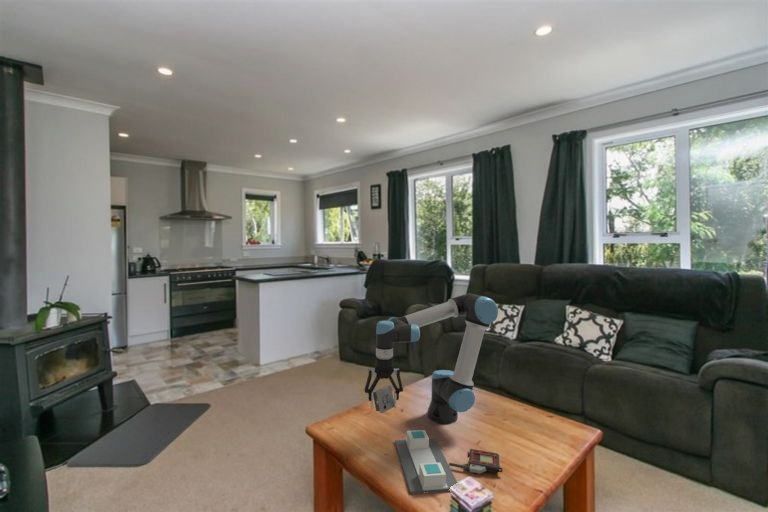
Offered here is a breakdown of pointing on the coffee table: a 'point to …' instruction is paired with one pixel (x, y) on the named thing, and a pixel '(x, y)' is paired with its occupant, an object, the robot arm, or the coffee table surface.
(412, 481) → the rail board
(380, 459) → the coffee table surface
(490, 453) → the walkie-talkie
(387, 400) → the electrical switch
